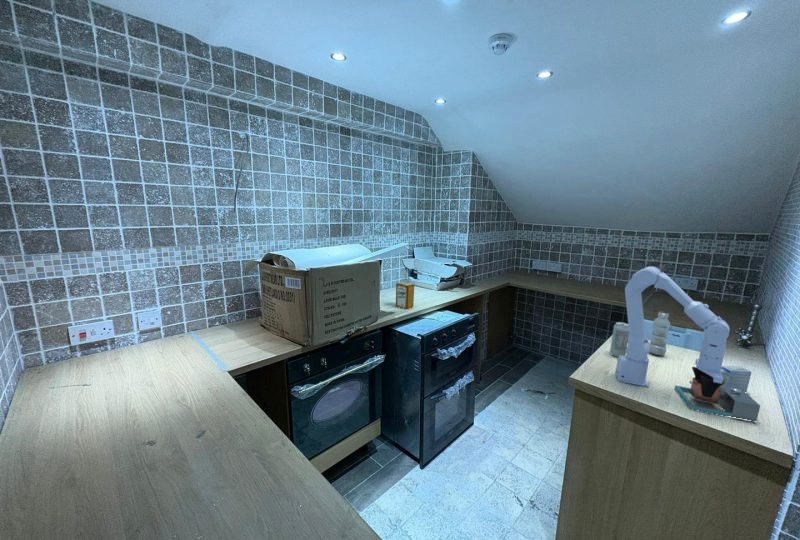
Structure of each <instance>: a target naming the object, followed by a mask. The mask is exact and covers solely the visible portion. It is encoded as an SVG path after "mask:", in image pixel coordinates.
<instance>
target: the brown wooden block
mask: <svg viewBox="0 0 800 540" xmlns="http://www.w3.org/2000/svg"><path fill="white" fill-rule="evenodd" d="M688 383H689V385H690V384H691V386H690V388H691V389H690V393H689V394H690V395H691V396H692V398H693V399H694V400H695V401H700V402H705V403H710V404H716V405H719V404H718V401H719V397H720V392H721V387H719V388H718V389H717V390H716V391H715V393H714V394H713V396H712V397H711V398H709V397H704V396H703V394H702V387H703V385H702V380H701V379H699V378H695V376H694V377H692V379H691V380H689V382H688Z"/></svg>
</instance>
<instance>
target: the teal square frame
mask: <svg viewBox="0 0 800 540" xmlns="http://www.w3.org/2000/svg"><path fill="white" fill-rule="evenodd" d="M720 387H721V392H720V397H719V401H718V404H717V405H719V407H720V406H721V407H722V408H723V409H724V410H725V411H724V410H723V409H722V408H721V407H720V408H721V409H718V408H713V407H707V406H703V405H698V404H693V402H692V401H691V400H690V399H689V397H688V396H687V395H686V394H687V393H688V394H690V389H691V387H687V386H681V385H676V384H675V385H674V390H676V391H675V393H677V394H679V395H678V396H679V397H680V399H681V398H682V399H683V400H682V399H681V400H682V402H684V403H686V404H685V405H686V406H687V408H688V407H689V408H690V409H693V410H692V411H695V410H699V411H698V412H700V411H703V412H702V413H705V412H708V413H707V414H710V413H713V414H712V415H715V414H718V415H717V416H719V415H723V416H722V417H724V416H731V417H736V418H742V419H747V420H751V421H756V422H757V421H758V417H759V412H760V409H761V404H759V403H758V402H757V401H756V400H754V398H752V397H751V396H750V395H749V394H748V393H747V392H746V393H745V392H744V391H743V390H742V389H741V388H740V387H739V386H738V385H736V384H731V383H726V382H724V384H723V385H721V386H720ZM685 393H686V394H685ZM689 408H688V409H689ZM690 409H689V410H690Z"/></svg>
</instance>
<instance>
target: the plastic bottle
mask: <svg viewBox="0 0 800 540" xmlns="http://www.w3.org/2000/svg"><path fill="white" fill-rule="evenodd" d="M669 315H670V313H669V312H666V311H658V314H657V316H658V317H656V318H655V319H654V320H653V322H652V337H651V339H650V341H649V344H650V345H651V352H650V353H649V354H652V355H654V356H658V357H659V356H660V357H661V356H665V355H666V352H667V338H668V334H669V332H670V328H671V326H672V325H671V322H670V321H669V319H668V318H669V317H670V316H669Z"/></svg>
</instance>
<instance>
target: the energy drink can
mask: <svg viewBox="0 0 800 540" xmlns="http://www.w3.org/2000/svg"><path fill="white" fill-rule="evenodd" d="M612 329H613V331H612V336H611V343H610V348H609V353H610V355H611V354H612V355H613V356H612V355H611V356H612V357H615V358H618V357H619V356H626V348H627V347H628V338H629V326H628V323H626V322H622V321H617V322H615V323H614V325H613V328H612Z"/></svg>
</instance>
